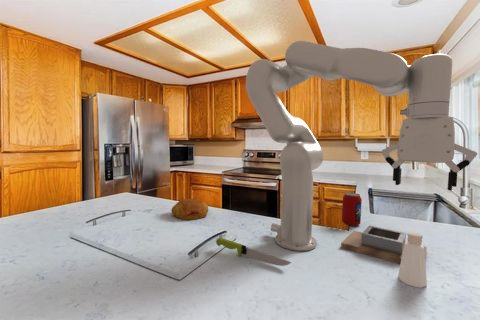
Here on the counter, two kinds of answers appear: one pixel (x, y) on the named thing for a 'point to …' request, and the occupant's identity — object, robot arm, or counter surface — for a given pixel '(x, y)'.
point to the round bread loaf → (190, 209)
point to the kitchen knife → (251, 252)
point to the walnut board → (355, 245)
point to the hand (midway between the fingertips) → (422, 186)
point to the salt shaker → (413, 262)
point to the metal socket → (384, 239)
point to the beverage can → (351, 209)
